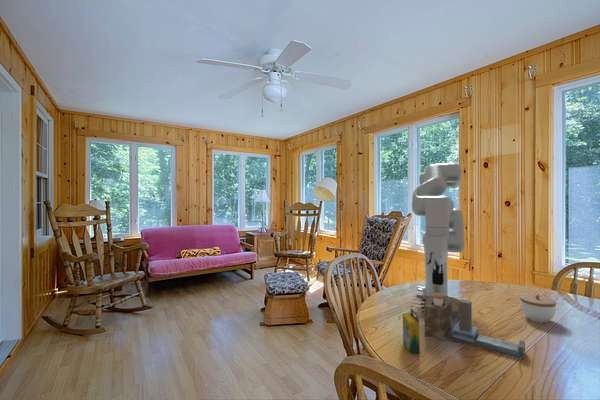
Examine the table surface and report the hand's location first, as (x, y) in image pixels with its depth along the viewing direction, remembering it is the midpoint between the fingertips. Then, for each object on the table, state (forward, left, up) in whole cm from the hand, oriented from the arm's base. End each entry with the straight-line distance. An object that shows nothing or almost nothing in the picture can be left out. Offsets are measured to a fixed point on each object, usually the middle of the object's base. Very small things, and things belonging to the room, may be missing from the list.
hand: (437, 283), depth 103 cm
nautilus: (-6, +17, -17) cm, 25 cm away
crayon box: (-3, -17, -17) cm, 24 cm away
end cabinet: (0, 0, -17) cm, 17 cm away
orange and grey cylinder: (0, 0, -11) cm, 11 cm away
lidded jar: (+25, +36, -17) cm, 47 cm away
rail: (+13, 0, -17) cm, 22 cm away
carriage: (+8, 0, -16) cm, 18 cm away
